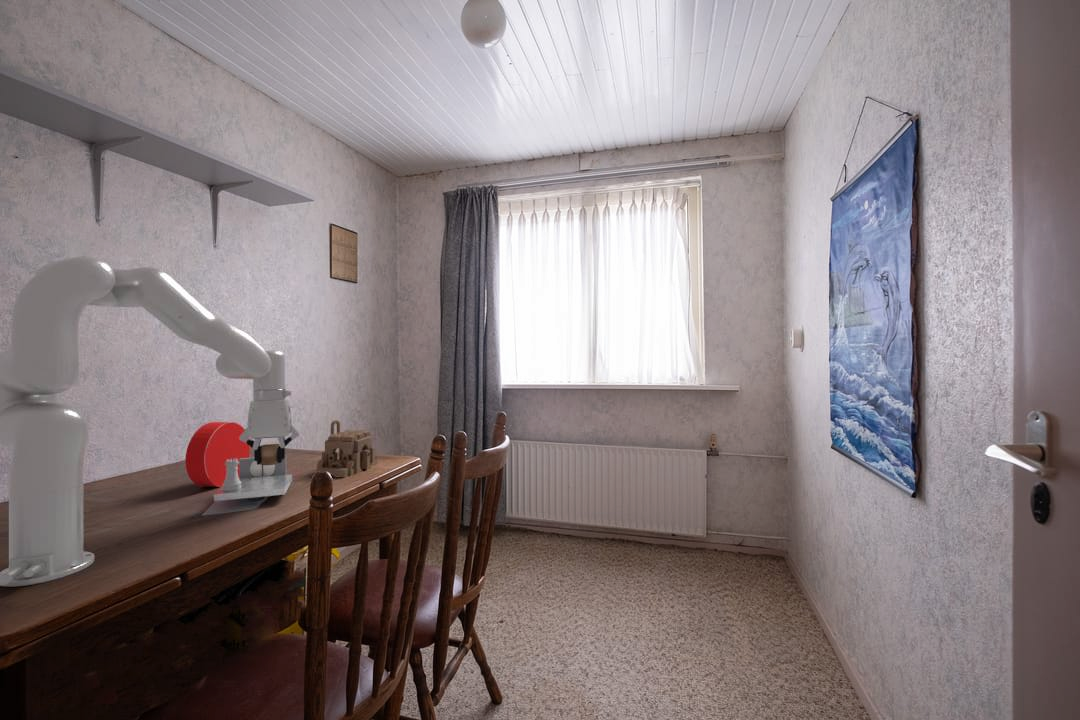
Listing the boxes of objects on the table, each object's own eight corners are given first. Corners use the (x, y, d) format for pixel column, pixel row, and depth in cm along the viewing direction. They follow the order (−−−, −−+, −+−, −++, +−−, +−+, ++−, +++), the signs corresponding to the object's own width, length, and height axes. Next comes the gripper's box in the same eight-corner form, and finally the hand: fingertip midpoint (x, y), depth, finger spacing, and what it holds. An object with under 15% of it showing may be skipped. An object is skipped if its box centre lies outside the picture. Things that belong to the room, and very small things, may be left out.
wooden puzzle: (350, 483, 149) (350, 425, 149) (309, 481, 151) (309, 424, 151) (383, 467, 171) (383, 417, 171) (346, 466, 173) (346, 416, 173)
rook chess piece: (231, 492, 120) (231, 461, 120) (217, 491, 121) (217, 461, 121) (246, 487, 124) (246, 458, 124) (232, 486, 125) (232, 457, 125)
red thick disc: (233, 477, 155) (233, 418, 155) (250, 477, 155) (250, 418, 155) (185, 494, 135) (185, 426, 135) (204, 495, 135) (204, 427, 135)
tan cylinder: (277, 464, 124) (277, 446, 124) (259, 466, 123) (259, 447, 123) (280, 461, 128) (280, 443, 128) (262, 462, 127) (262, 444, 127)
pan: (284, 504, 124) (284, 488, 124) (213, 511, 118) (213, 494, 118) (292, 488, 139) (292, 474, 139) (229, 494, 133) (229, 479, 133)
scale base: (292, 509, 123) (292, 468, 123) (202, 518, 115) (202, 475, 115) (300, 488, 142) (300, 453, 142) (224, 495, 135) (224, 458, 135)
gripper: (305, 393, 132) (306, 457, 132) (236, 395, 126) (237, 462, 126) (302, 396, 125) (303, 463, 125) (229, 398, 119) (230, 468, 119)
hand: (270, 462), depth 126 cm, fingers closed on tan cylinder, 4 cm apart
